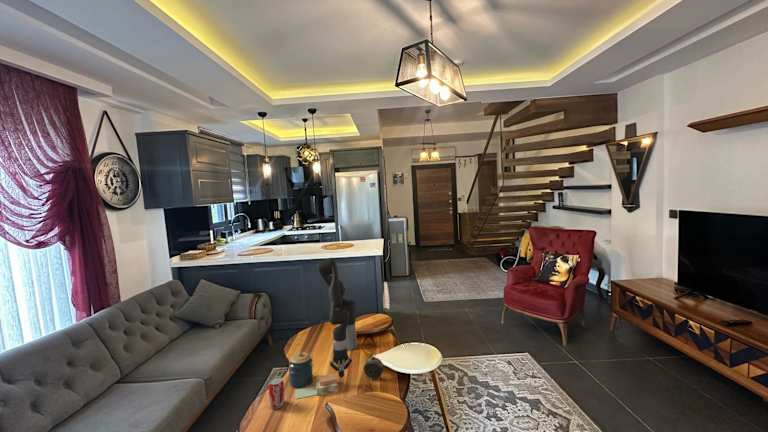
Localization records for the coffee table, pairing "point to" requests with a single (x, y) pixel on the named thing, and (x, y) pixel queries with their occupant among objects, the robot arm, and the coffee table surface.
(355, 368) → the coffee table surface
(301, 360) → the canister
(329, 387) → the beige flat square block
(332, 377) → the pink block
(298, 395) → the mat
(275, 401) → the soda can
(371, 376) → the alarm clock
